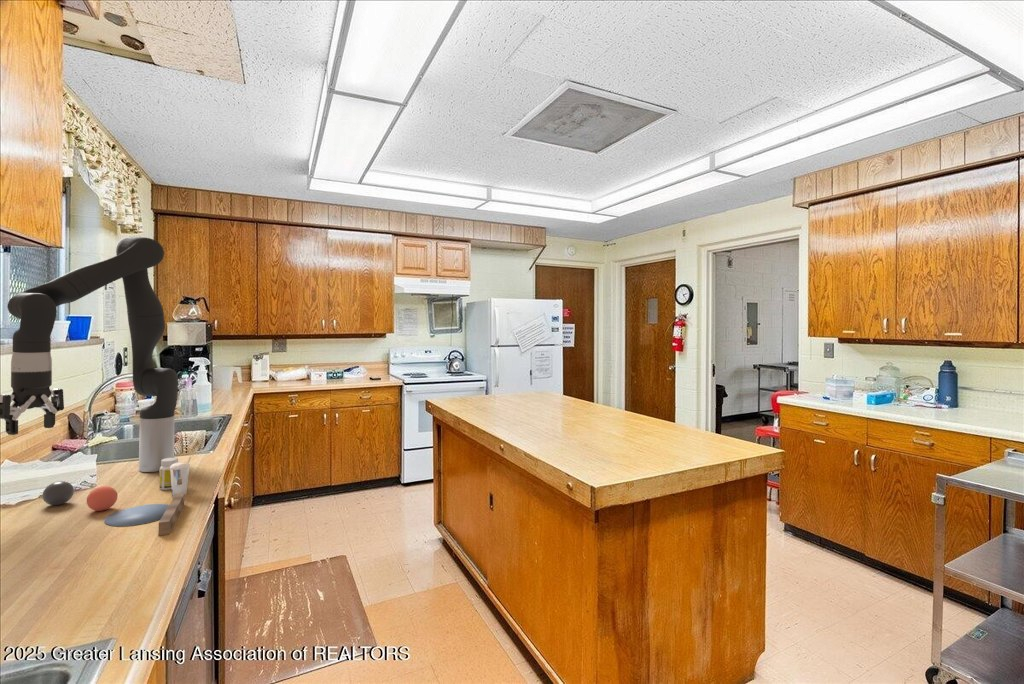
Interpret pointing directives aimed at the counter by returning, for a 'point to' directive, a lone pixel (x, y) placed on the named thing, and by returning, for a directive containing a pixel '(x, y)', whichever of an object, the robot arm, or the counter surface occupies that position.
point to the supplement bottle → (166, 473)
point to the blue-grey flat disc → (137, 515)
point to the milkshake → (179, 477)
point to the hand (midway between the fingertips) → (31, 431)
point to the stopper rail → (171, 514)
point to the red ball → (102, 498)
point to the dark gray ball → (58, 493)
